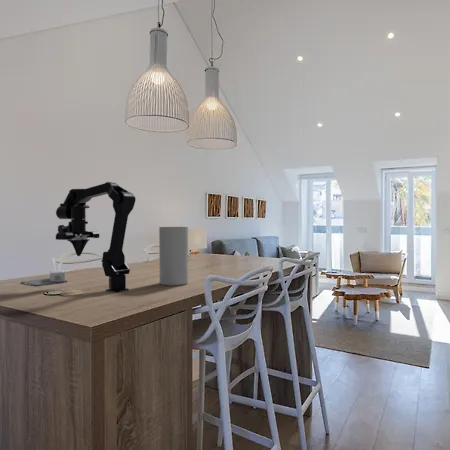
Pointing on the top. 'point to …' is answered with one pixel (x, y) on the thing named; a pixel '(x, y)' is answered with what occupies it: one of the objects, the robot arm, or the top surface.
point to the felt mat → (42, 282)
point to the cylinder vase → (173, 255)
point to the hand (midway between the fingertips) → (78, 255)
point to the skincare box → (57, 275)
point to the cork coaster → (72, 293)
